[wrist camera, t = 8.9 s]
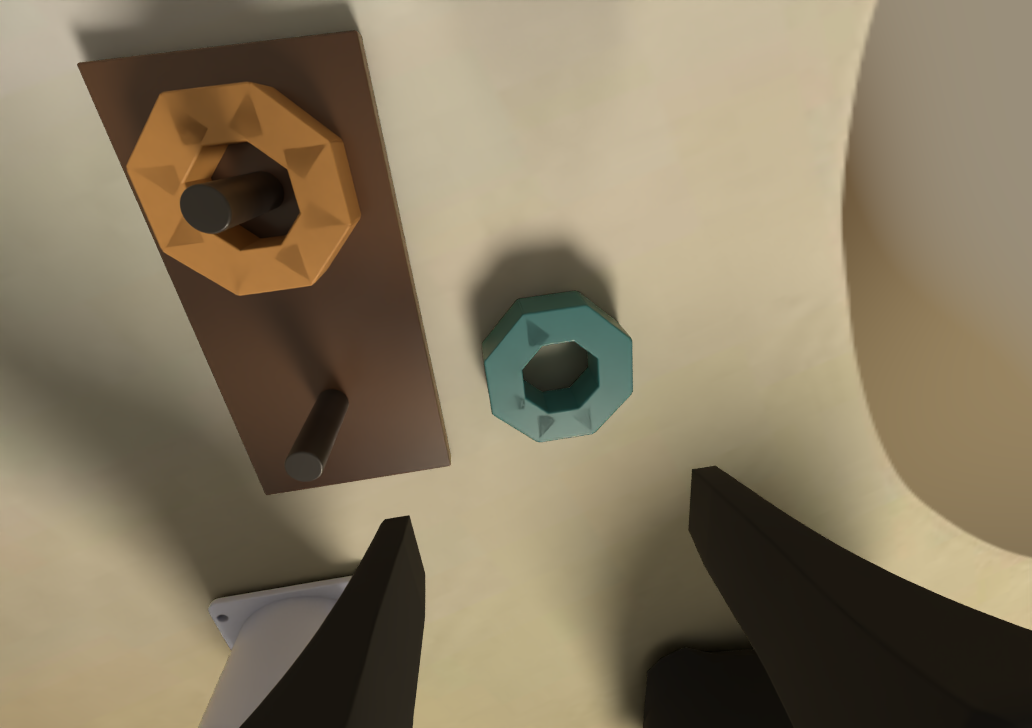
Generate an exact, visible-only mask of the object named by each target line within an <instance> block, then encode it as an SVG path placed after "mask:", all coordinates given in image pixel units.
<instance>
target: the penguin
mask: <svg viewBox="0 0 1032 728" xmlns="http://www.w3.org/2000/svg"><path fill="white" fill-rule="evenodd" d="M643 728H794V727H793V725H792V723H791V721H790V719H789V717H788V714H787V712H786V710H785V708H784V706H783V704H782V702H781V700H780V698H779V696H778V694H777V692H776V690H775V688H774V686H773V684H772V682H771V679H770V677H769V675H768V673H767V671H766V669H765V668H764V666H763V664H762V662H761V660H760V659H759V657H758V655H757V653H756V651H755V650H753V649H743V650H733V651H723V652H712V653H709V652H704V651H700V650H695V649H691V648H686V647H684V648H682V649H680V650H677V651H675V652H673V653H671V654H669V655H667V656H665V657H663V658H661V659H660V660H659V661H658V662H657V663H656V664H655V665H654V666H653V667H652V668H651V669H649V670H648V671H647V682H646V695H645V708H644V721H643Z"/></svg>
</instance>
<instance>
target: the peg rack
mask: <svg viewBox="0 0 1032 728" xmlns="http://www.w3.org/2000/svg"><path fill="white" fill-rule="evenodd" d="M77 66H78V68H79V70H80V72H81V75H82V77H83V79H84V82H85V84H86V86H87V88H88V91H89V93H90V95H91V97H92V100H93V102H94V104H95V107H96V109H97V111H98V113H99V116H100V118H101V120H102V123H103V125H104V127H105V129H106V132H107V134H108V136H109V139H110V141H111V143H112V145H113V148H114V150H115V152H116V154H117V157H118V159H119V161H120V164H121V166H122V168H123V170H124V173H125V175H126V177H127V180H128V182H129V184H130V186H131V189H132V191H133V193H134V196H135V198H136V200H137V202H138V205H139V207H140V209H141V211H142V214H143V216H144V218H145V221H146V223H147V225H148V227H149V230H150V232H151V234H152V237H153V239H154V241H155V243H156V246H157V248H158V250H159V252H160V255H161V257H162V259H163V262H164V264H165V266H166V268H167V271H168V273H169V275H170V278H171V280H172V282H173V284H174V287H175V289H176V291H177V294H178V296H179V298H180V300H181V303H182V305H183V307H184V309H185V312H186V314H187V316H188V319H189V321H190V323H191V325H192V328H193V330H194V332H195V335H196V337H197V339H198V341H199V344H200V346H201V348H202V351H203V353H204V355H205V357H206V360H207V362H208V364H209V366H210V369H211V371H212V373H213V376H214V378H215V380H216V382H217V385H218V387H219V389H220V392H221V394H222V396H223V398H224V401H225V403H226V405H227V407H228V410H229V412H230V414H231V417H232V419H233V421H234V423H235V426H236V428H237V430H238V433H239V435H240V437H241V439H242V442H243V444H244V446H245V449H246V451H247V453H248V455H249V458H250V460H251V462H252V464H253V467H254V469H255V471H256V474H257V476H258V478H259V480H260V483H261V485H262V487H263V490H264V492H265V494H266V495H271V494H277V493H284V492H290V491H296V490H302V489H309V488H315V487H321V486H327V485H334V484H340V483H346V482H352V481H359V480H365V479H371V478H377V477H384V476H390V475H396V474H402V473H409V472H415V471H421V470H427V469H433V468H440V467H446V466H450V465H451V453H450V449H449V444H448V439H447V434H446V430H445V425H444V420H443V416H442V411H441V406H440V402H439V397H438V392H437V388H436V383H435V378H434V374H433V369H432V364H431V359H430V355H429V350H428V345H427V341H426V336H425V331H424V327H423V322H422V317H421V313H420V308H419V303H418V299H417V294H416V289H415V284H414V280H413V275H412V270H411V266H410V261H409V256H408V252H407V247H406V242H405V238H404V233H403V228H402V223H401V219H400V214H399V209H398V205H397V200H396V195H395V191H394V186H393V181H392V177H391V172H390V167H389V163H388V158H387V153H386V148H385V144H384V139H383V134H382V130H381V125H380V120H379V116H378V111H377V106H376V102H375V97H374V92H373V88H372V83H371V78H370V73H369V69H368V64H367V59H366V55H365V50H364V45H363V41H362V36H361V35H360V34H359V33H358V32H357V31H355V30H353V31H344V32H336V33H327V34H319V35H310V36H301V37H293V38H284V39H276V40H267V41H259V42H250V43H242V44H233V45H225V46H216V47H207V48H199V49H190V50H182V51H173V52H165V53H156V54H148V55H139V56H131V57H122V58H114V59H105V60H96V61H88V62H79V63H78V64H77ZM239 82H253V83H257V84H261V85H266V86H270V87H274V88H275V89H276V90H278V91H279V92H280V93H281V94H283V95H284V96H285V97H287V98H288V99H289V100H291V101H292V102H293V103H295V104H296V105H297V106H299V107H300V108H301V109H303V110H304V111H305V112H307V113H308V114H309V115H311V116H312V117H313V118H315V119H316V120H317V121H318V122H320V123H321V124H322V125H324V126H325V127H326V128H328V129H329V130H330V131H332V132H333V133H334V134H336V135H337V136H338V137H340V138H341V139H342V141H343V143H344V147H345V151H346V155H347V159H348V163H349V167H350V171H351V175H352V179H353V183H354V187H355V191H356V196H357V200H358V204H359V208H360V212H361V216H360V220H359V221H358V223H357V224H356V226H355V227H354V229H353V231H352V232H351V234H350V235H349V237H348V238H347V240H346V241H345V243H344V244H343V246H342V248H341V249H340V251H339V252H338V254H337V255H336V257H335V258H334V260H333V261H332V263H331V265H330V266H329V268H328V269H327V271H326V272H325V273H324V274H323V275H322V276H321V277H320V278H319V279H318V280H317V281H316V282H315V283H314V284H313V285H312V286H306V287H299V288H292V289H284V290H277V291H270V292H263V293H256V294H249V295H242V296H239V295H236V294H234V293H232V292H231V291H229V290H227V289H225V288H224V287H222V286H220V285H219V284H217V283H215V282H213V281H212V280H210V279H208V278H207V277H205V276H203V275H202V274H200V273H198V272H196V271H195V270H193V269H191V268H190V267H188V266H186V265H185V264H183V263H181V262H179V261H178V260H176V259H174V258H173V257H171V256H169V255H167V254H166V253H164V252H163V250H162V249H161V248H160V245H159V243H158V241H157V239H156V236H155V234H154V232H153V229H152V227H151V225H150V222H149V220H148V218H147V216H146V213H145V211H144V209H143V206H142V204H141V202H140V200H139V197H138V195H137V193H136V190H135V188H134V186H133V183H132V181H131V179H130V177H129V174H128V172H127V168H126V165H127V163H128V160H129V158H130V156H131V154H132V152H133V150H134V148H135V145H136V143H137V141H138V139H139V137H140V135H141V133H142V131H143V128H144V126H145V124H146V122H147V120H148V118H149V116H150V113H151V111H152V109H153V107H154V105H155V103H156V101H157V98H158V96H159V94H161V93H162V92H165V91H173V90H181V89H190V88H198V87H206V86H215V85H223V84H231V83H239ZM211 179H212V181H209V182H204V183H200V184H195V185H192V186H189V187H188V188H186V189H185V190H184V191H183V193H182V195H181V198H180V210H181V213H182V215H183V217H184V218H185V220H186V221H187V222H188V223H189V224H190V225H191V226H192V227H193V228H195V229H196V230H198V231H200V232H203V233H207V234H217V233H221V232H223V231H225V230H228V229H230V228H232V227H234V226H237V225H240V226H242V227H243V228H245V229H246V230H248V231H250V232H251V233H253V234H254V235H256V236H257V237H259V238H269V237H276V236H283V235H287V233H288V231H289V230H290V228H291V226H292V225H293V223H294V221H295V220H296V218H297V216H298V215H299V213H300V210H299V207H298V203H297V200H296V197H295V193H294V190H293V187H292V183H291V180H290V177H289V173H288V170H287V169H286V168H285V167H283V166H282V165H280V164H279V163H278V162H276V161H275V160H273V159H272V158H271V157H269V156H268V155H266V154H265V153H263V152H262V151H261V150H259V149H258V148H256V147H255V146H253V145H252V144H251V143H249V142H246V143H238V144H230V145H228V147H227V148H226V150H225V152H224V154H223V156H222V158H221V160H220V162H219V164H218V165H217V167H216V169H215V171H214V173H213V175H212V177H211Z"/></svg>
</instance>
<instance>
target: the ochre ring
mask: <svg viewBox="0 0 1032 728" xmlns="http://www.w3.org/2000/svg"><path fill="white" fill-rule="evenodd" d="M246 142H249V143H251V144H252V145H253V146H255V147H256V148H258V149H259V150H261V151H262V152H263V153H265V154H266V155H268V156H269V157H271V158H272V159H273V160H275V161H276V162H278V163H279V164H280V165H282V166H283V167H285V168H286V169H287V170H288V173H289V177H290V180H291V183H292V187H293V190H294V193H295V197H296V200H297V203H298V207H299V210H300V213H299V215H298V216H297V218H296V220H295V221H294V223H293V225H292V226H291V228H290V230H289V231H288V233H287V235H283V236H276V237H269V238H259V237H257V236H256V235H254V234H253V233H251V232H250V231H248V230H246V229H245V228H243V227H242V226H240V225H237V226H234V227H232V228H230V229H228V230H225V231H223V232H221V233H217V234H207V233H203V232H200V231H198V230H196V229H195V228H193V227H192V226H191V225H190V224H189V223H188V222H187V221H186V220H185V218H184V217H183V215H182V213H181V210H180V198H181V195H182V193H183V191H184V190H185V189H186V188H188V187H189V186H192V185H195V184H200V183H204V182H209V181H212V179H211V177H212V175H213V173H214V171H215V169H216V167H217V165H218V164H219V162H220V160H221V158H222V156H223V154H224V152H225V150H226V148H227V147H228V145H230V144H238V143H246ZM126 168H127V172H128V174H129V177H130V179H131V181H132V183H133V186H134V188H135V190H136V193H137V195H138V197H139V200H140V202H141V204H142V206H143V209H144V211H145V213H146V216H147V218H148V220H149V222H150V225H151V227H152V229H153V232H154V234H155V236H156V239H157V241H158V243H159V245H160V248H161V249H162V250H163V252H164V253H166V254H167V255H169V256H171V257H173V258H174V259H176V260H178V261H179V262H181V263H183V264H185V265H186V266H188V267H190V268H191V269H193V270H195V271H196V272H198V273H200V274H202V275H203V276H205V277H207V278H208V279H210V280H212V281H213V282H215V283H217V284H219V285H220V286H222V287H224V288H225V289H227V290H229V291H231V292H232V293H234V294H236V295H239V296H242V295H249V294H256V293H263V292H270V291H277V290H284V289H292V288H299V287H306V286H312V285H313V284H314V283H315V282H316V281H317V280H318V279H319V278H320V277H321V276H322V275H323V274H324V273H325V272H326V271H327V269H328V268H329V266H330V265H331V263H332V261H333V260H334V258H335V257H336V255H337V254H338V252H339V251H340V249H341V248H342V246H343V244H344V243H345V241H346V240H347V238H348V237H349V235H350V234H351V232H352V231H353V229H354V227H355V226H356V224H357V223H358V221H359V220H360V216H361V212H360V208H359V204H358V200H357V196H356V191H355V187H354V183H353V179H352V175H351V171H350V167H349V163H348V159H347V155H346V151H345V147H344V143H343V141H342V139H341V138H340V137H338V136H337V135H336V134H334V133H333V132H332V131H330V130H329V129H328V128H326V127H325V126H324V125H322V124H321V123H320V122H318V121H317V120H316V119H315V118H313V117H312V116H311V115H309V114H308V113H307V112H305V111H304V110H303V109H301V108H300V107H299V106H297V105H296V104H295V103H293V102H292V101H291V100H289V99H288V98H287V97H285V96H284V95H283V94H281V93H280V92H279V91H278V90H276V89H275V88H274V87H270V86H266V85H261V84H257V83H253V82H239V83H231V84H223V85H215V86H206V87H198V88H190V89H181V90H173V91H165V92H162V93H161V94H159V96H158V98H157V101H156V103H155V105H154V107H153V109H152V111H151V113H150V116H149V118H148V120H147V122H146V124H145V126H144V128H143V131H142V133H141V135H140V137H139V139H138V141H137V143H136V145H135V148H134V150H133V152H132V154H131V156H130V158H129V160H128V163H127V165H126Z"/></svg>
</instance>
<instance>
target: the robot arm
mask: <svg viewBox="0 0 1032 728" xmlns="http://www.w3.org/2000/svg"><path fill="white" fill-rule="evenodd" d="M688 530H689V532H690V534H691V537H692V539H693V541H694V544H695V546H696V548H697V551H698V553H699V555H700V557H701V559H702V561H703V564H704V566H705V568H706V570H707V571H708V573H709V575H710V576H711V578H712V580H713V581H714V583H715V585H716V587H717V588H718V590H719V592H720V593H721V595H722V597H723V598H724V600H725V602H726V603H727V605H728V607H729V608H730V610H731V612H732V613H733V615H734V617H735V618H736V620H737V622H738V623H739V625H740V626H741V628H742V630H743V631H744V633H745V635H746V636H747V638H748V640H749V641H750V643H751V645H752V646H753V648H754V650H755V651H756V653H757V655H758V657H759V659H760V660H761V662H762V664H763V666H764V668H765V669H766V671H767V673H768V675H769V677H770V679H771V682H772V684H773V686H774V688H775V690H776V692H777V694H778V696H779V698H780V700H781V702H782V704H783V706H784V708H785V710H786V712H787V714H788V717H789V719H790V721H791V723H792V725H793V727H794V728H1032V630H1029V629H1026V628H1023V627H1020V626H1017V625H1015V624H1012V623H1009V622H1007V621H1004V620H1001V619H999V618H996V617H994V616H991V615H988V614H986V613H983V612H980V611H978V610H975V609H973V608H970V607H968V606H965V605H963V604H960V603H958V602H955V601H953V600H951V599H948V598H946V597H943V596H941V595H939V594H937V593H934V592H932V591H930V590H928V589H925V588H923V587H921V586H919V585H916V584H914V583H912V582H910V581H907V580H905V579H903V578H901V577H899V576H897V575H895V574H893V573H891V572H888V571H886V570H885V569H883V568H881V567H879V566H877V565H875V564H873V563H871V562H869V561H867V560H865V559H863V558H861V557H859V556H857V555H855V554H853V553H852V552H850V551H848V550H846V549H844V548H842V547H841V546H839V545H837V544H835V543H834V542H832V541H830V540H829V539H827V538H825V537H824V536H822V535H820V534H818V533H817V532H815V531H813V530H812V529H810V528H808V527H807V526H805V525H804V524H802V523H800V522H799V521H797V520H795V519H794V518H792V517H791V516H789V515H788V514H786V513H785V512H783V511H782V510H780V509H778V508H777V507H775V506H774V505H772V504H771V503H769V502H768V501H766V500H765V499H763V498H762V497H761V496H759V495H758V494H756V493H755V492H753V491H752V490H750V489H749V488H747V487H746V486H745V485H743V484H742V483H740V482H739V481H737V480H736V479H734V478H733V477H732V476H730V475H729V474H727V473H726V472H724V471H723V470H721V469H720V468H718V467H717V466H710V467H704V468H698V469H692V479H691V495H690V512H689V529H688ZM208 611H209V614H210V615H211V617H212V619H213V620H214V622H215V624H216V626H217V627H218V629H219V631H220V632H221V634H222V636H223V638H224V639H225V641H226V643H227V644H228V646H229V648H230V650H231V653H230V655H229V657H228V660H227V662H226V664H225V666H224V669H223V671H222V673H221V676H220V678H219V680H218V683H217V685H216V687H215V690H214V692H213V694H212V696H211V699H210V701H209V703H208V706H207V708H206V710H205V713H204V715H203V717H202V720H201V722H200V724H199V727H198V728H413V716H414V707H415V698H416V690H417V681H418V673H419V665H420V656H421V647H422V639H423V630H424V621H425V571H424V568H423V564H422V560H421V557H420V553H419V549H418V545H417V542H416V538H415V534H414V531H413V527H412V523H411V520H410V516H409V515H408V516H402V517H396V518H390V519H385V520H384V521H383V522H382V523H381V525H380V527H379V529H378V531H377V533H376V535H375V537H374V538H373V540H372V542H371V544H370V546H369V548H368V550H367V551H366V553H365V555H364V557H363V559H362V560H361V562H360V564H359V566H358V567H357V569H356V571H355V572H354V574H353V575H352V576H346V577H341V578H335V579H329V580H323V581H317V582H311V583H305V584H299V585H293V586H287V587H281V588H276V589H270V590H264V591H258V592H252V593H246V594H240V595H234V596H228V597H222V598H217V599H214V600H213V601H212V602H211V604H210V606H209V608H208Z"/></svg>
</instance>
